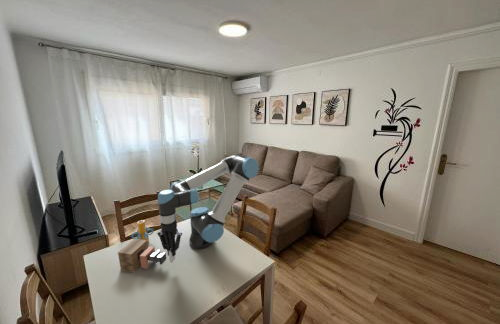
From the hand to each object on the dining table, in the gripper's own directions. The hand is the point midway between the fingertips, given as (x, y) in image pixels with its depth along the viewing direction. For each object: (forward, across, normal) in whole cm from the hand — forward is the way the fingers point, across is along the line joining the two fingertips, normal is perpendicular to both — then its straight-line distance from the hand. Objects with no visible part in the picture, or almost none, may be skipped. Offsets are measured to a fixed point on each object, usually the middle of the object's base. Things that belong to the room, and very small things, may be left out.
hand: (172, 260), depth 107 cm
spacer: (+4, +15, 0) cm, 15 cm away
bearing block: (+6, +23, 0) cm, 24 cm away
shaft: (+2, +14, 0) cm, 14 cm away
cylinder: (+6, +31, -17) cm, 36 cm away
